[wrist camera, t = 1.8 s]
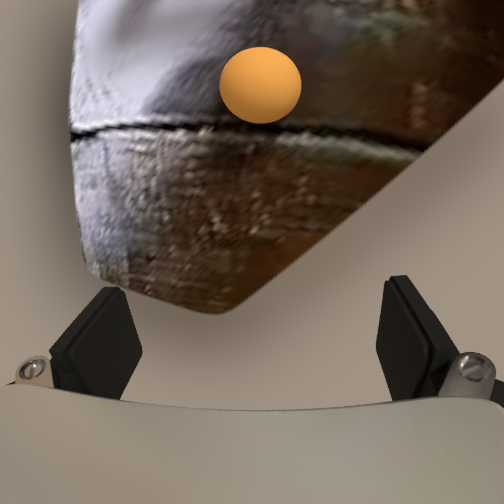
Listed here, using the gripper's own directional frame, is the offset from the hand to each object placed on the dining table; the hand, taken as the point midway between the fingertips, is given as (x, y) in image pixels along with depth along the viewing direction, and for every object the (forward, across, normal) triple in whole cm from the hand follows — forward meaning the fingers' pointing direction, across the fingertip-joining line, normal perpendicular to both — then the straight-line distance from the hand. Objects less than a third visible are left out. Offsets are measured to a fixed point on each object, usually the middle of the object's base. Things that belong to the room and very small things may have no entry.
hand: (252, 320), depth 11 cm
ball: (+15, 0, -9) cm, 18 cm away
